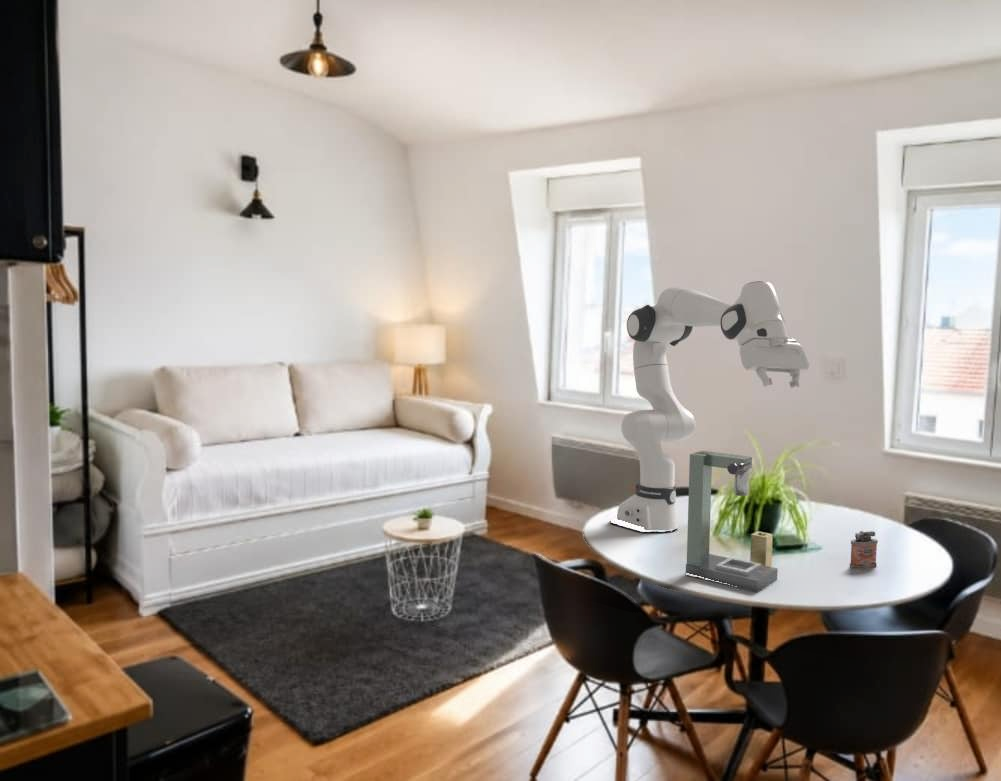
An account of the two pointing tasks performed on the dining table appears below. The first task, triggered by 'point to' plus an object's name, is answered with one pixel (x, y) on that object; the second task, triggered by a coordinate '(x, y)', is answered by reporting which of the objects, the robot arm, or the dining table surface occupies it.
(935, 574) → the dining table surface
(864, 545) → the lighter
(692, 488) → the press
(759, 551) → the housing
